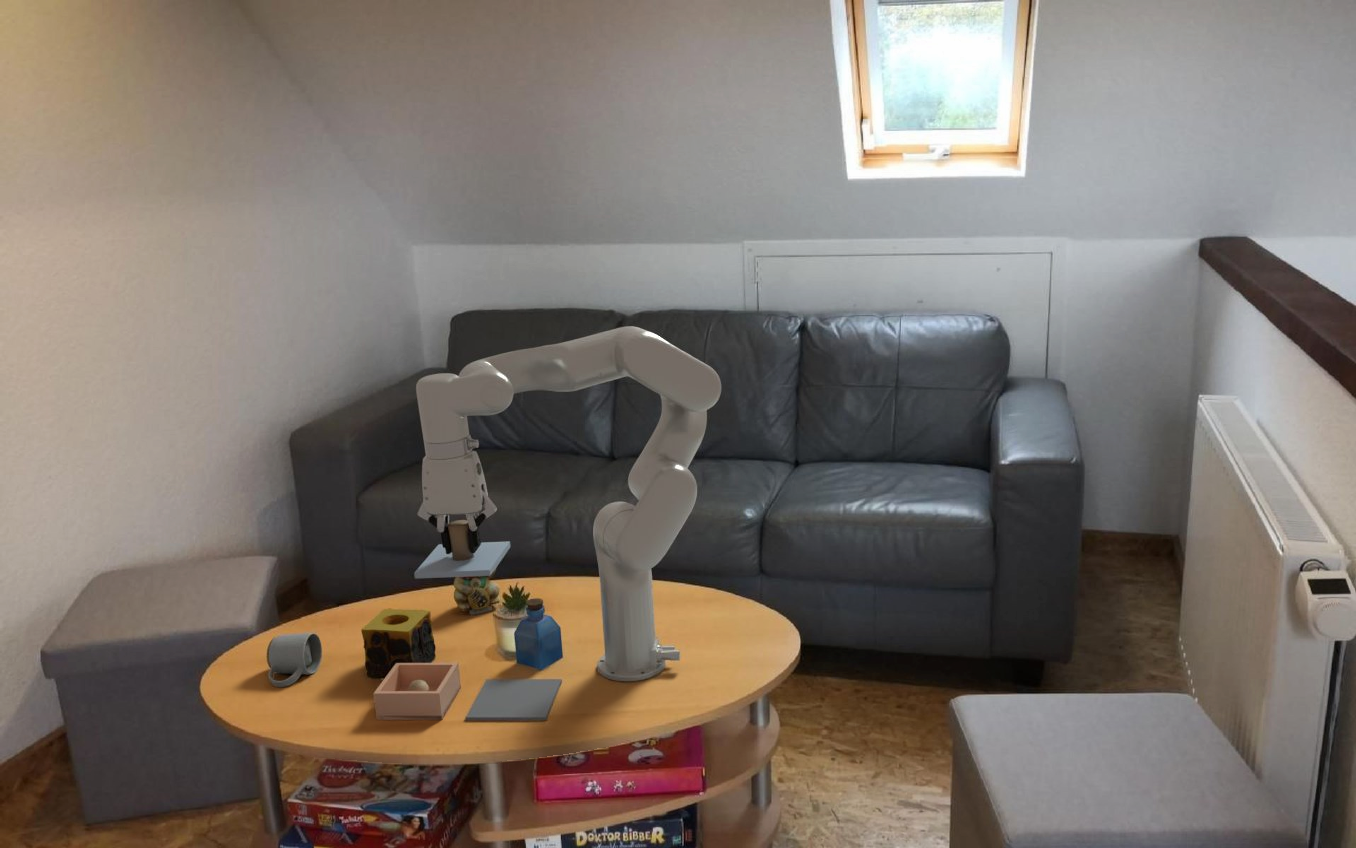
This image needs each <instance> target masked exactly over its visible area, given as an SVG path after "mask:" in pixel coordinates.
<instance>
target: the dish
mask: <svg viewBox="0 0 1356 848" xmlns="http://www.w3.org/2000/svg"><path fill="white" fill-rule="evenodd" d="M415 680H423V681H425V682H426V683H427V685H428V687H429V691H408V688H409V685H410V684H411V683H412V682H413V681H415ZM461 689H462V684H461V675H460V665H459V662H431V663H396V664H395V665H394V667H393V668H392V669H391V671H390V672H389V673H388V675H387V676H386V677H385V679H382V682H381V683H380V684H379V685H378V687H377V688H376V690H374V692H373V698H374V699H373V701H374V706H375V707H374V708H375V715H376V717H375V718H376V721H377V720H378V721H442V720H443V719H444V718H445V716H446V715H447V713H448V711H449V710H450V708H451V706H452V704H453V702H454V701H455V699H456V697H457V696H458V694H459V693H460V691H461Z"/></svg>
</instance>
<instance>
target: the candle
mask: <svg viewBox="0 0 1356 848" xmlns="http://www.w3.org/2000/svg"><path fill="white" fill-rule="evenodd" d="M431 615H432V614H431V610H427V609H399V608H398V609H397V608H396V609H394V608H385V609H383V610H381V611H380V612H379V613H378V614H377V615H376V616H375V617H374V618H373V619H372V620H371V621H369V622H368V623H367V624H366V625H365V626H364V627H362V628H361V635H362V639H363V649H364V657H365V658H364V659H365V660H364V669H365V670H366V677H367V678H368V679H377V680H384V679H385V677H386V676H387V675H388V673H389V672H390V671H391V669H392V668H393V667H394V665H395V664H396V663H433V662H434V661H435V659H436V655H437V654H436V647H437V646H436V644H435V637H434V633H433V625H432V618H431V617H432V616H431Z"/></svg>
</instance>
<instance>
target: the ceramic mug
mask: <svg viewBox="0 0 1356 848" xmlns="http://www.w3.org/2000/svg"><path fill="white" fill-rule="evenodd" d="M322 657H323V647H322V642H321V638H320V637H319V635H318V634H317V633H316V632H304V633H303V632H301V633H287V634H281V635H277V636H274V637H273V638H272V639H271V640H270V641H269V644H268V646H267V650H266V662H267V665H268V667H269V668H270V669H269V672H268V679H269V681H270V682H271V684H272V685H273V686H274V687H278V688H283V687H284V688H285V687H288V686H290V685H292V684H293V685H294V683H296V682H297V681H298V679H299V678H300V677H301V675H313V674H315V673H316V672H317V671H318V670H319V667H320V666H321V661H322ZM275 674H283V675H284V674H287V675H288V674H289V675H290V674H291V675H290V676H289V677H288V678H286V679H284V680H276V679H274V675H275Z"/></svg>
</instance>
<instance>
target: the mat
mask: <svg viewBox="0 0 1356 848" xmlns="http://www.w3.org/2000/svg"><path fill="white" fill-rule="evenodd" d="M562 683H563V679H562V678H533V679H531V678H517V679H516V678H513V679H512V678H509V679H508V678H501V679H500V678H499V679H498V678H494V679H493V678H492V679H491V678H489V679H485V681H484V683H483V684H482V687H481V688H480V690H479V692H478V694H477V696H476V697H475V699H474V701H473V703H472V704H471V706H470V708H469V710H468V711H467V714H466V715H465V721H472V722H473V721H477V722H478V721H498V722H499V721H500V722H501V721H504V722H505V721H511V722H512V721H515V722H516V721H517V722H518V721H525V722H527V721H536V722H537V721H540V722H541V721H544V722H545V721H547V719H548V717H549V714H550V713H551V710H552V707H553V705H554V702H555V700H556V698H557V695H558V693H559V690H560V689H561V685H562Z"/></svg>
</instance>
